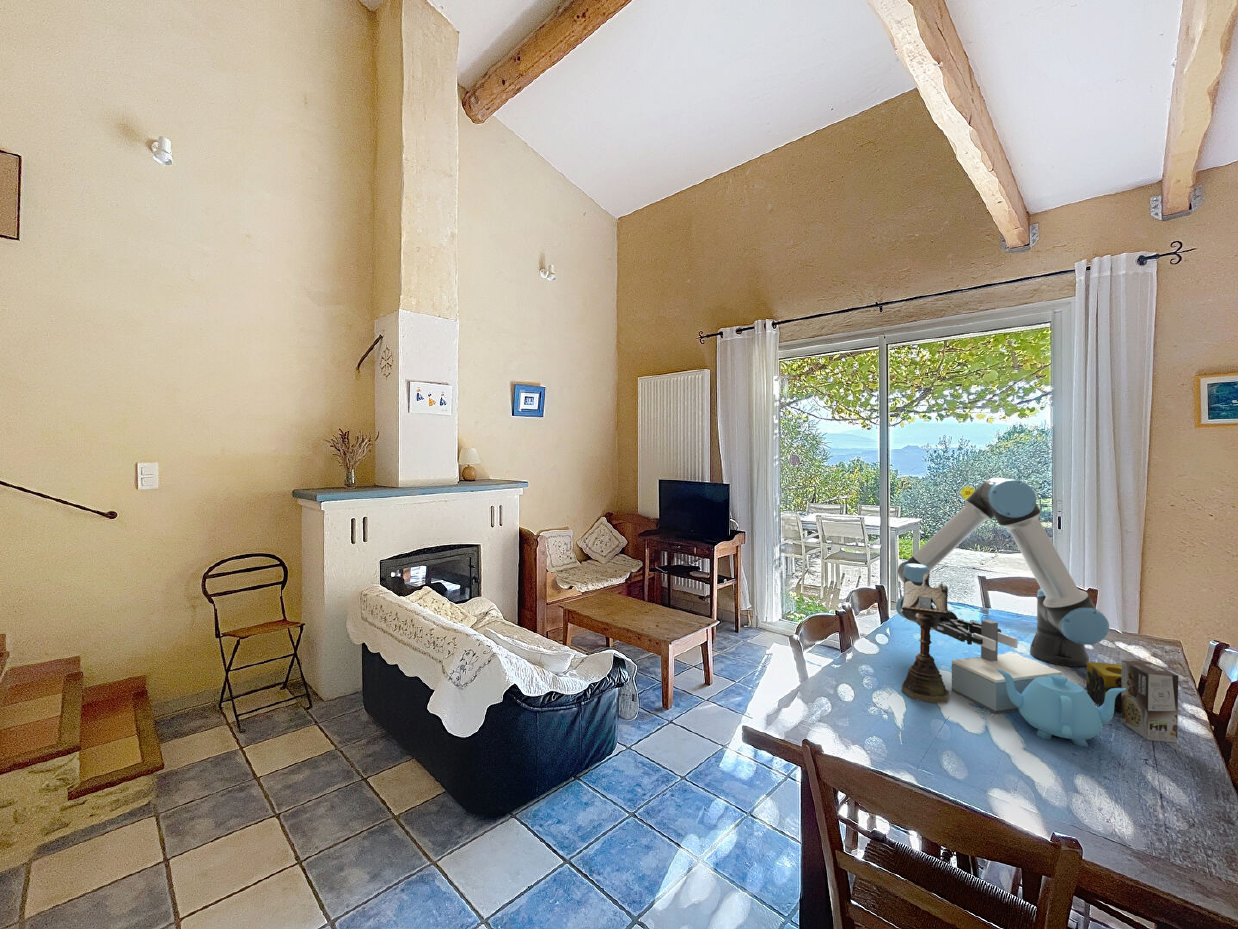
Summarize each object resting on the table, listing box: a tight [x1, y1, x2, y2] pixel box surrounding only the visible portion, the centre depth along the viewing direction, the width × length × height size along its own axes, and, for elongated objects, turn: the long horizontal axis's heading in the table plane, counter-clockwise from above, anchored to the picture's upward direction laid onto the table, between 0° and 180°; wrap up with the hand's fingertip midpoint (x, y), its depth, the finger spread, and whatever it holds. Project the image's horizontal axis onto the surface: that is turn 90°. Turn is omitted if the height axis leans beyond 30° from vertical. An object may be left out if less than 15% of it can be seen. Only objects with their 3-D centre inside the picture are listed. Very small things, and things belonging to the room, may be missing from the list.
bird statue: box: [900, 571, 956, 704], centre depth 149 cm, size 17×13×35 cm
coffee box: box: [1120, 660, 1179, 744], centre depth 130 cm, size 9×6×16 cm
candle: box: [1085, 661, 1122, 714], centre depth 144 cm, size 10×10×10 cm
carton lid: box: [951, 619, 1063, 683], centre depth 149 cm, size 22×14×12 cm, turn 103°
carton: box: [951, 662, 1035, 715], centre depth 149 cm, size 22×14×8 cm, turn 103°
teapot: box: [996, 669, 1126, 747], centre depth 130 cm, size 16×20×14 cm
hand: (1005, 644), depth 149 cm, fingers open, 7 cm apart
